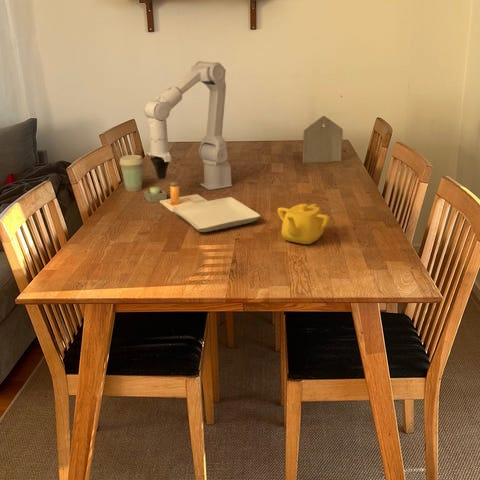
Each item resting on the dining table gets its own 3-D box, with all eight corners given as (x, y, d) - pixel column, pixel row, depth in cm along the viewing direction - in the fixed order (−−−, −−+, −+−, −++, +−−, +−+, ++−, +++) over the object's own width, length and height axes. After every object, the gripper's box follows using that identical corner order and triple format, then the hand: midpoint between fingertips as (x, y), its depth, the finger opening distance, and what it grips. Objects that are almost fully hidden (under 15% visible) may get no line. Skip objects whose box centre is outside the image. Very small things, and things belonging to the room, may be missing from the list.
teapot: (332, 247, 157) (334, 211, 153) (286, 251, 155) (287, 215, 152) (317, 229, 170) (318, 196, 166) (275, 233, 168) (275, 199, 164)
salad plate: (198, 238, 166) (198, 227, 165) (171, 217, 183) (171, 207, 182) (262, 225, 175) (262, 214, 173) (231, 206, 192) (230, 196, 191)
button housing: (160, 195, 204) (160, 188, 203) (166, 199, 199) (166, 192, 198) (144, 198, 201) (144, 191, 200) (150, 202, 196) (149, 195, 195)
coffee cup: (140, 193, 206) (137, 160, 202) (118, 192, 208) (115, 159, 203) (149, 186, 214) (146, 154, 209) (127, 185, 216) (124, 154, 211)
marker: (177, 201, 195) (177, 180, 192) (181, 204, 192) (180, 182, 190) (169, 203, 193) (168, 181, 191) (172, 205, 191) (171, 184, 188)
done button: (158, 194, 202) (157, 185, 200) (161, 196, 199) (161, 188, 198) (149, 195, 200) (148, 187, 199) (152, 198, 197) (151, 189, 196)
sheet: (197, 195, 202) (197, 193, 202) (211, 204, 193) (211, 203, 192) (159, 202, 197) (159, 200, 196) (172, 212, 187) (172, 210, 186)
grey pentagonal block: (337, 157, 249) (339, 111, 241) (341, 161, 241) (343, 115, 234) (299, 158, 248) (300, 113, 241) (303, 163, 241) (304, 116, 233)
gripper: (139, 135, 193) (143, 175, 198) (155, 144, 181) (158, 185, 186) (159, 133, 196) (162, 172, 201) (175, 141, 184) (178, 182, 189)
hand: (161, 178), depth 194 cm, fingers closed
